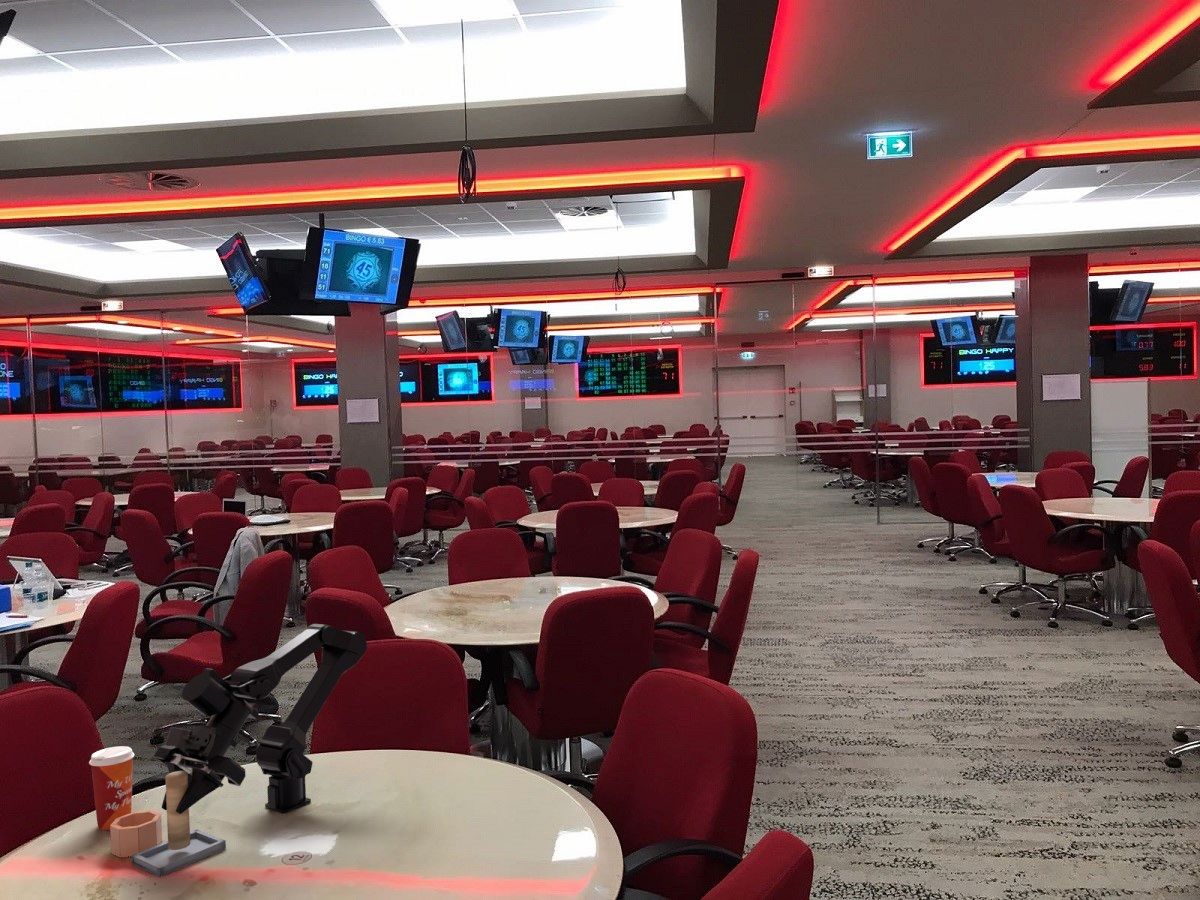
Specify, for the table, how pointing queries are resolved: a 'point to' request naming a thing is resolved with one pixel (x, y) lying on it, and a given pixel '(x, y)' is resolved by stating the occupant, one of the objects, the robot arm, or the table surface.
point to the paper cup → (112, 783)
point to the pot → (135, 833)
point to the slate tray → (178, 854)
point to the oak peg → (175, 821)
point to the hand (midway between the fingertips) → (170, 811)
